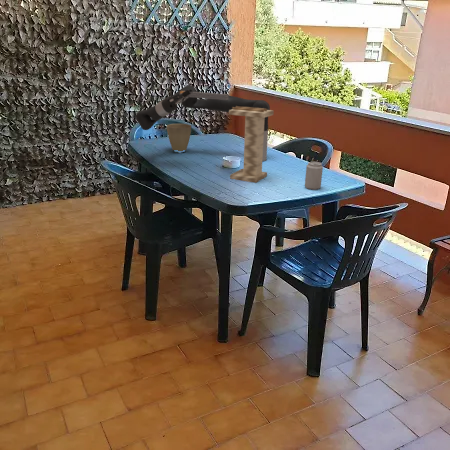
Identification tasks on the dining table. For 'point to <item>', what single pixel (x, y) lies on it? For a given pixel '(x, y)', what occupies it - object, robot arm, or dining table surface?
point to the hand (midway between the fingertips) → (190, 91)
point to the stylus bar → (207, 95)
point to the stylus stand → (252, 143)
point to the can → (313, 175)
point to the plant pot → (179, 136)
